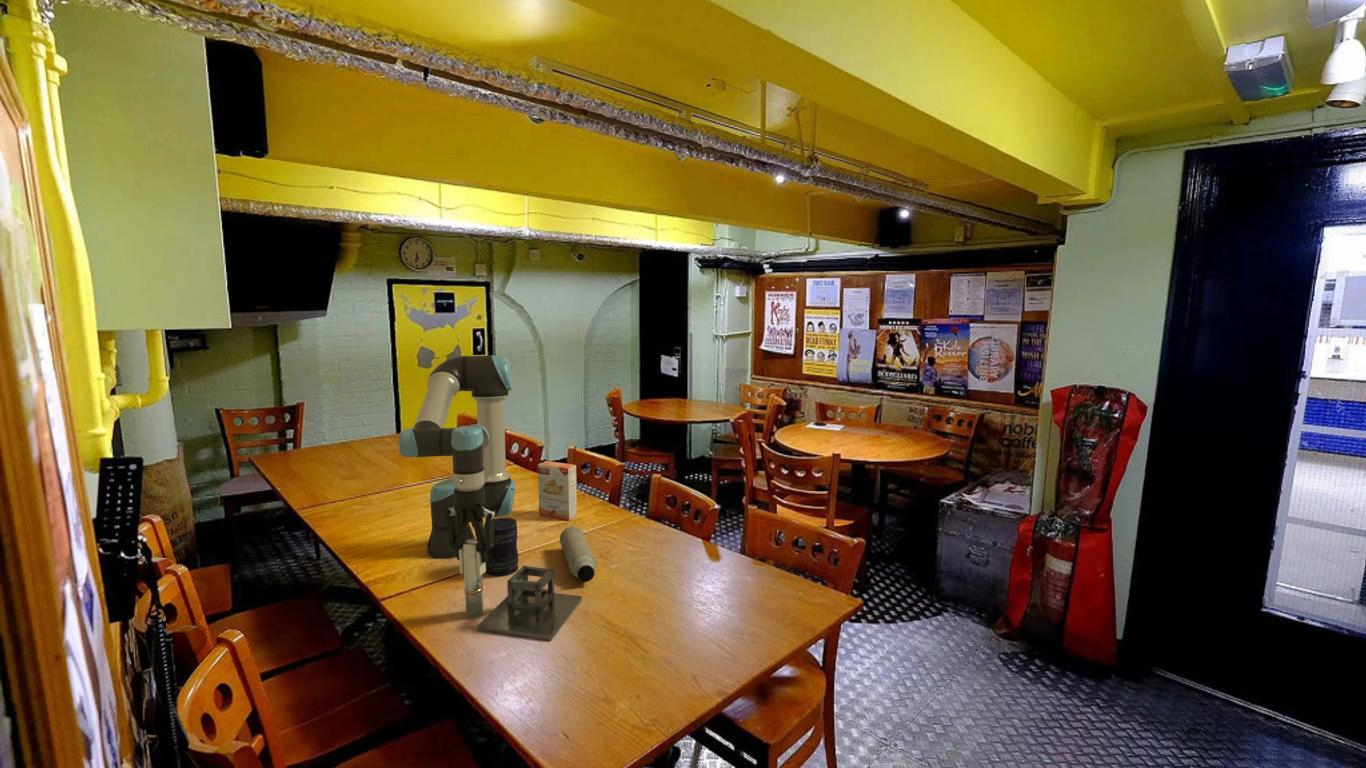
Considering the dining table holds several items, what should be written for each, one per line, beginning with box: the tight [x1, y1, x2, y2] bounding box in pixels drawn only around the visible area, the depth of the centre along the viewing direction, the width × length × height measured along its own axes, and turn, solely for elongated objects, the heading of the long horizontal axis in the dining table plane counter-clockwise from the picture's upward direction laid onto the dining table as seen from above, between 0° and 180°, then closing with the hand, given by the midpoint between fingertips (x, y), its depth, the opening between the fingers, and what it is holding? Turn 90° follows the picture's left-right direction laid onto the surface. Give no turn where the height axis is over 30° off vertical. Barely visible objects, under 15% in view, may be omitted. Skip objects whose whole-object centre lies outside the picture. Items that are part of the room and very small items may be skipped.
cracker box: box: [537, 460, 578, 521], centre depth 221 cm, size 14×6×21 cm, turn 68°
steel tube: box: [463, 538, 484, 619], centre depth 151 cm, size 5×5×20 cm
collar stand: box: [476, 565, 583, 642], centre depth 151 cm, size 20×20×11 cm
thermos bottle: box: [559, 525, 597, 583], centre depth 180 cm, size 8×8×28 cm
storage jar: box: [483, 517, 519, 578], centre depth 177 cm, size 10×10×15 cm
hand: (472, 572), depth 151 cm, fingers closed on steel tube, 4 cm apart
